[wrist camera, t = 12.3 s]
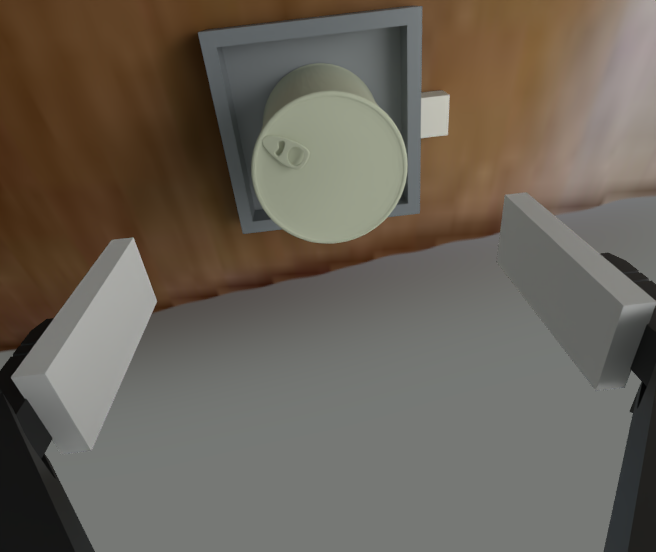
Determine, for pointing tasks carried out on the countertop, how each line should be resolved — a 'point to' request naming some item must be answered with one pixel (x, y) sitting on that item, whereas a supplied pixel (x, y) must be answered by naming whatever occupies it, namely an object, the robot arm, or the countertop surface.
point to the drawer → (310, 48)
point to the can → (327, 156)
